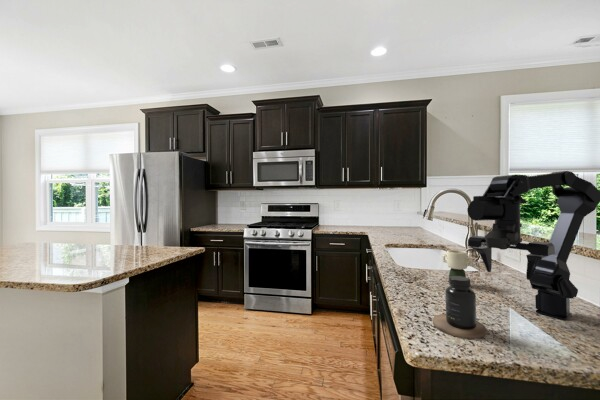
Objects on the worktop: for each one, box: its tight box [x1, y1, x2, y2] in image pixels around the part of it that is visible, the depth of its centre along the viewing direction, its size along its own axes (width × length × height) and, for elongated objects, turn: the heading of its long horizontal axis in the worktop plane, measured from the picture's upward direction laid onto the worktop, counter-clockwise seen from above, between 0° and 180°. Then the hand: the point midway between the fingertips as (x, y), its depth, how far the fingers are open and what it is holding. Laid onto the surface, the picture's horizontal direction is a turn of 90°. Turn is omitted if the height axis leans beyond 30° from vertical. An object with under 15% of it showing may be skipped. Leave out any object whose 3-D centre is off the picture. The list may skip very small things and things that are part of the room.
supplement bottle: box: [444, 276, 477, 330], centre depth 70 cm, size 7×7×12 cm
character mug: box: [442, 249, 474, 282], centre depth 107 cm, size 11×7×13 cm, turn 41°
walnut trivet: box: [432, 313, 487, 339], centre depth 71 cm, size 12×12×1 cm
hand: (507, 275), depth 76 cm, fingers open, 9 cm apart
